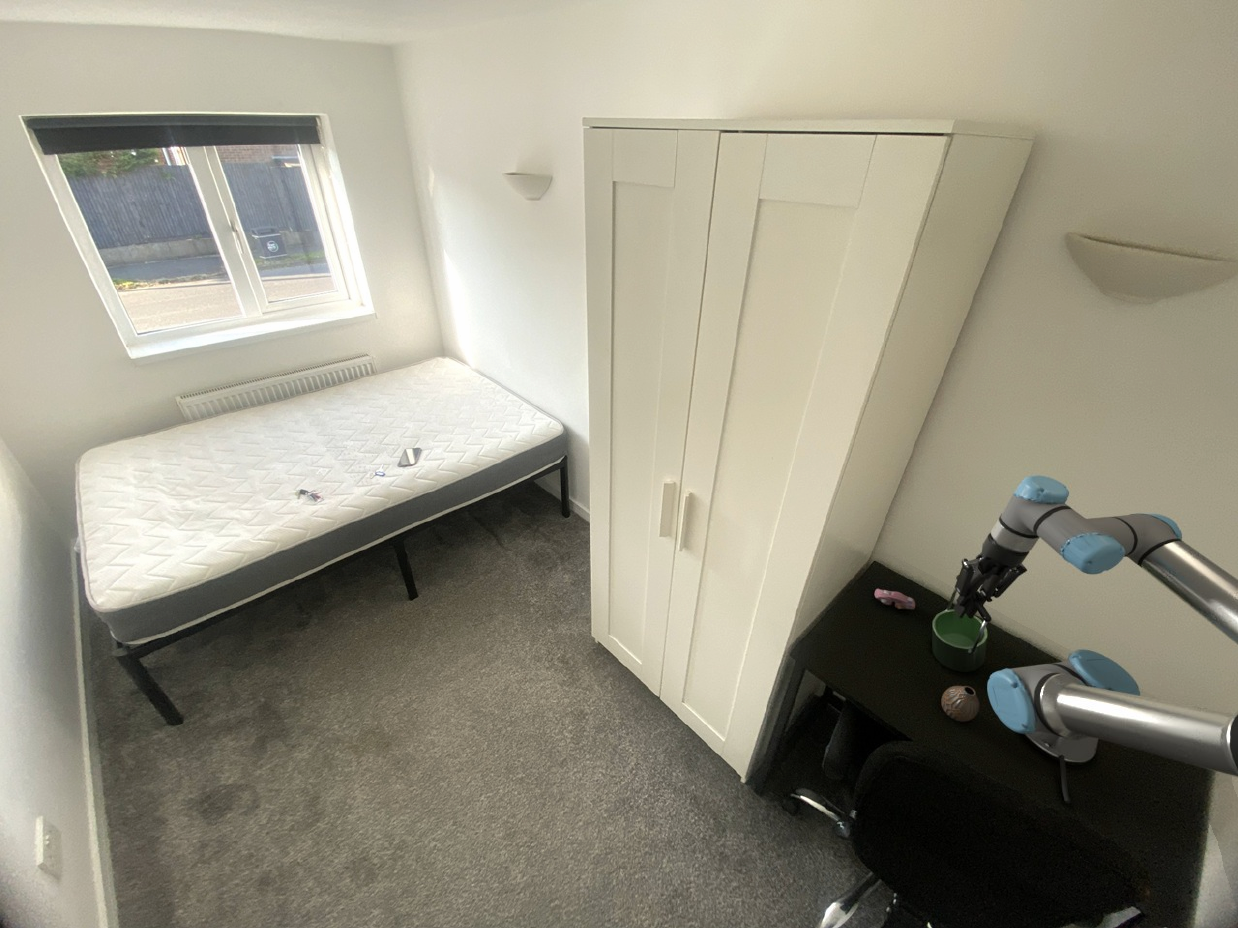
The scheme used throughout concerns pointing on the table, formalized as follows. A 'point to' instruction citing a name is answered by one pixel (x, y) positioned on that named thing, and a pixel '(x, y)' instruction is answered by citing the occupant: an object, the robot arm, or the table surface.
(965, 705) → the vase
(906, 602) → the video game controller
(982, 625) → the bucket
